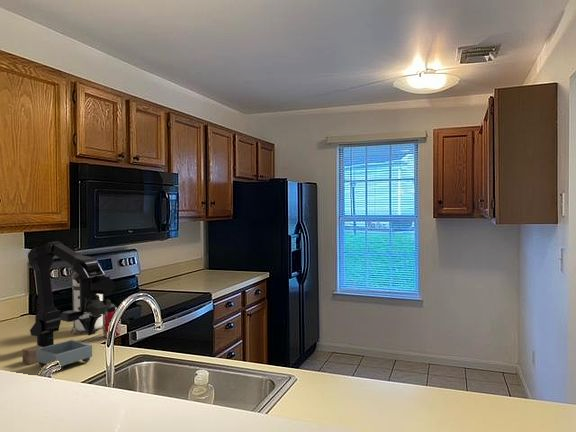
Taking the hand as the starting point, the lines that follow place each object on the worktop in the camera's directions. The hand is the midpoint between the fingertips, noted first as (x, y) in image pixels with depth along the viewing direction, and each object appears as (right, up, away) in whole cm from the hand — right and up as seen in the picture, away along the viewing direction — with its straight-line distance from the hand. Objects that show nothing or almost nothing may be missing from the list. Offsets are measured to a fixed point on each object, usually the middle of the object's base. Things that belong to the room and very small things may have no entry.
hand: (89, 335), depth 164 cm
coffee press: (-16, -8, +36) cm, 41 cm away
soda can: (-2, -8, +26) cm, 27 cm away
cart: (-5, -8, -8) cm, 12 cm away
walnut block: (-18, -9, -4) cm, 21 cm away
